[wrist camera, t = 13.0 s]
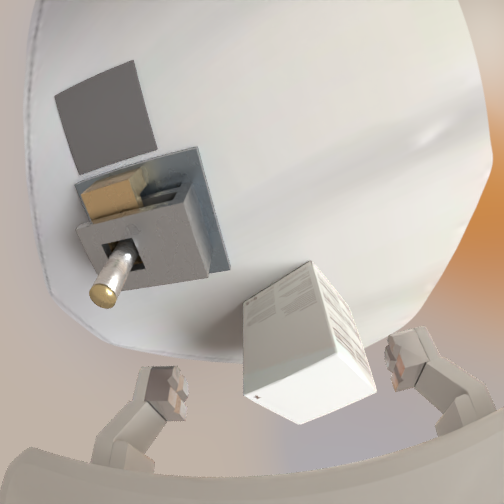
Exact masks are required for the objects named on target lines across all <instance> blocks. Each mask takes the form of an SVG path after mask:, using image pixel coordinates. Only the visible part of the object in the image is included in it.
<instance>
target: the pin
mask: <svg viewBox="0 0 504 504" xmlns="http://www.w3.org/2000/svg"><path fill="white" fill-rule="evenodd" d="M138 254H139V252H138V250H137V248H136V245H135V243H134V241H133V238H128V239H124V240H120V241H119V242H118V244H117V246H116V247H115V249H114V250H113V252H112V254H111V255H110V257H109V259H108V260H107V262H106V264H105V265H104V267H103V269H102V270H101V272H100V274H99V275H98V277H97V279H96V281H95V282H94V284H93V286H92V288H91V289H90V292H89V295H90V298H91V300H92V301H93V302H94V303H95V304H96V305H97V306H99V307H102V308H106V309H108V308H112V307H113V306H114V305H115V302H116V300H117V298H118V296H119V294H120V291H121V289H122V287H123V285H124V283H125V281H126V279H127V277H128V274H129V272H130V270H131V268H132V266H133V264H134V262H135V260H136V258H137V256H138Z"/></svg>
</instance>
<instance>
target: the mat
mask: <svg viewBox="0 0 504 504" xmlns="http://www.w3.org/2000/svg"><path fill="white" fill-rule="evenodd" d="M55 99H56V103H57V106H58V110H59V114H60V117H61V120H62V124H63V127H64V130H65V133H66V137H67V140H68V143H69V146H70V149H71V152H72V155H73V158H74V160H75V163H76V166H77V169H78V172H79V174H80V175H81V174H84V173H86V172H89V171H92V170H95V169H98V168H100V167H103V166H106V165H109V164H112V163H115V162H118V161H121V160H124V159H127V158H131V157H134V156H137V155H140V154H144V153H147V152H150V151H154V150H157V145H156V142H155V139H154V135H153V132H152V128H151V125H150V121H149V118H148V114H147V110H146V107H145V103H144V99H143V95H142V92H141V88H140V84H139V80H138V76H137V72H136V68H135V64H134V60H132V61H129V62H127V63H124V64H122V65H119V66H117V67H114V68H112V69H110V70H107V71H105V72H103V73H100V74H98V75H96V76H94V77H91V78H89V79H87V80H85V81H83V82H81V83H79V84H77V85H75V86H73V87H71V88H69V89H67V90H65V91H63V92H61V93H59V94H57V95H56V96H55Z"/></svg>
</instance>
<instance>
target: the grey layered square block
mask: <svg viewBox="0 0 504 504" xmlns="http://www.w3.org/2000/svg"><path fill="white" fill-rule="evenodd" d="M75 187H76V189H77V192H78V194H79V197H80V199H81V202H82V204H83V206H84V209H85V211H86V214H87V216H88V218H89V220H90V221H89V222H86V223H82V224H80V225H79V226H78V227H77V228H76V232H77V235H78V237H79V239H80V241H81V243H82V245H83V247H84V249H85V251H86V253H87V255H88V257H89V259H90V261H91V263H92V265H93V267H94V269H95V271H96V273H97V274H98V275H99V274H100V272H101V270H102V269H103V267H104V265H105V264H106V262H107V260H108V259H109V257H110V255H111V254H112V252H113V250H114V249H115V247H116V246H117V244H118V242H119V241H120V240H124V239H128V238H133V241H134V243H135V245H136V248H137V250H138V252H139V254H138V256H137V258H136V260H135V262H134V264H133V266H132V268H131V270H130V272H129V274H128V277H127V279H126V281H125V283H124V285H123V287H122V289H121V291H125V290H132V289H139V288H145V287H152V286H159V285H165V284H172V283H178V282H185V281H191V280H197V279H204V278H208V276H209V273H215V272H221V271H227V270H230V262H229V259H228V255H227V252H226V248H225V245H224V241H223V238H222V234H221V231H220V227H219V224H218V220H217V216H216V213H215V209H214V205H213V202H212V198H211V195H210V191H209V187H208V183H207V180H206V176H205V172H204V169H203V165H202V161H201V157H200V153H199V150H198V147H193V148H189V149H185V150H181V151H177V152H174V153H170V154H166V155H162V156H159V157H155V158H152V159H148V160H145V161H141V162H138V163H135V164H131V165H128V166H125V167H122V168H119V169H115V170H112V171H109V172H106V173H103V174H100V175H97V176H95V177H92V178H89V179H86V180H83V181H80V182H78V183H77V184H75Z"/></svg>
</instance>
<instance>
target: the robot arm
mask: <svg viewBox="0 0 504 504" xmlns="http://www.w3.org/2000/svg"><path fill="white" fill-rule="evenodd" d="M387 341H388V344H389V345H388V346H386V348H385V362H386V365H387V369H388V370H389V371H391V372H392V376H391V381H392V384H393V387H394V390H395V392H398V391H402V390H405V389H410V388H413V387H415V389H416V390H417V391H418V392H419V393H420V394H421V395H423V396H424V397H425V398H426V399H427V400H428V401H429V402H430V403H431V404H433V405H434V406H435V407H436V408H437V409H438V410H439V411H440V412H441V413H443V415H442V417H441V418H440V419H439V420H438V422H437V423H436V425H435V428H436V432H437V435H438V437H437V438H434V439H432V440H429V441H426V442H423V443H421V444H418V445H415V446H412V447H409V448H406V449H402V450H399V451H396V452H393V453H389V454H386V455H382V456H378V457H375V458H371V459H367V460H362V461H358V462H354V463H349V464H344V465H340V466H334V467H329V468H323V469H317V470H311V471H303V472H296V473H287V474H278V475H265V476H249V477H189V476H173V475H162V474H154V467H155V462H154V461H153V460H152V459H150V458H149V457H148V456H146V455H145V453H146V451H147V450H148V448H149V447H150V446H151V444H152V443H153V441H154V440H155V439H156V437H157V436H158V434H159V433H160V431H161V430H162V428H163V427H164V426H165V424H166V423H167V422H166V421H185V420H186V412H187V406H186V404H185V403H184V402H185V400H186V399H187V398H188V393H189V390H188V383H187V380H186V378H185V377H184V376H183V375H181V374H180V369H179V368H178V366H160V367H154V366H152V367H141V369H140V370H139V373H138V378H137V382H136V386H135V391H134V395H133V399H132V401H129V402H128V403H127V404H126V405H125V406H124V407H123V408H122V409H121V410H120V412H118V413H117V415H116V416H115V417H114V418H113V419H112V420H111V421H110V422H109V423H108V424H107V426H105V427H104V429H103V430H102V431H101V432H100V433H99V434H98V435H97V436H96V440H95V444H94V449H93V454H92V458H91V462H90V463H88V462H83V461H79V460H75V459H71V458H67V457H64V456H60V455H56V454H53V453H50V452H47V451H43V450H41V449H38V448H33V447H30V448H27V449H26V450H24V451H23V452H22V453H21V454H20V455H19V456H18V457H16V458H15V459H14V460H13V461H12V462H11V463H10V465H9V466H8V468H7V471H6V473H5V476H4V479H3V482H2V486H1V490H0V504H504V407H502V408H500V409H499V410H496V408H495V405H494V403H493V400H492V398H491V396H490V394H489V392H488V389H487V387H486V385H485V384H484V383H482V382H481V381H480V380H478V379H477V378H475V377H474V376H472V375H471V374H469V373H468V372H466V371H465V370H463V369H462V368H460V367H459V366H457V365H456V364H454V363H453V362H451V361H450V360H448V359H447V358H445V357H442V358H441V356H440V354H439V352H438V350H437V348H436V346H435V343H434V341H433V340H432V337H431V335H430V334H429V331H428V329H427V328H426V327H425V326H420V327H417V328H414V329H409V330H405V331H401V332H397V333H394V334H390V335H389V336H388V340H387Z"/></svg>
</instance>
